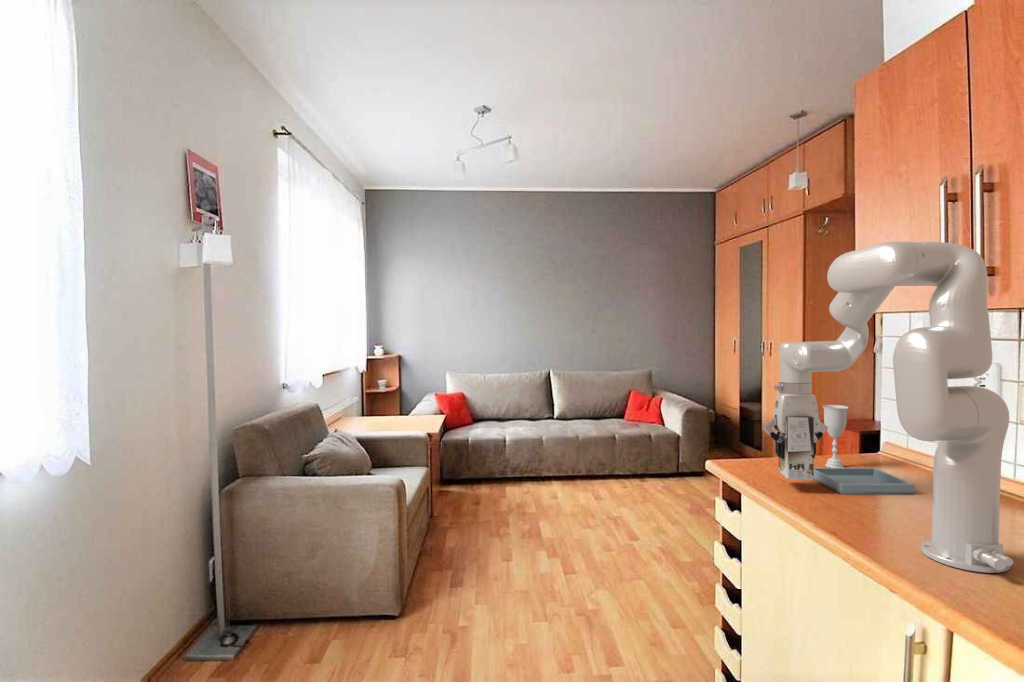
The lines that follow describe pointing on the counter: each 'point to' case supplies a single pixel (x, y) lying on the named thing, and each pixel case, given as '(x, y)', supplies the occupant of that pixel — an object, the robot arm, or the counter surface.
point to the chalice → (835, 429)
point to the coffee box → (798, 449)
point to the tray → (862, 481)
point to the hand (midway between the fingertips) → (795, 456)
